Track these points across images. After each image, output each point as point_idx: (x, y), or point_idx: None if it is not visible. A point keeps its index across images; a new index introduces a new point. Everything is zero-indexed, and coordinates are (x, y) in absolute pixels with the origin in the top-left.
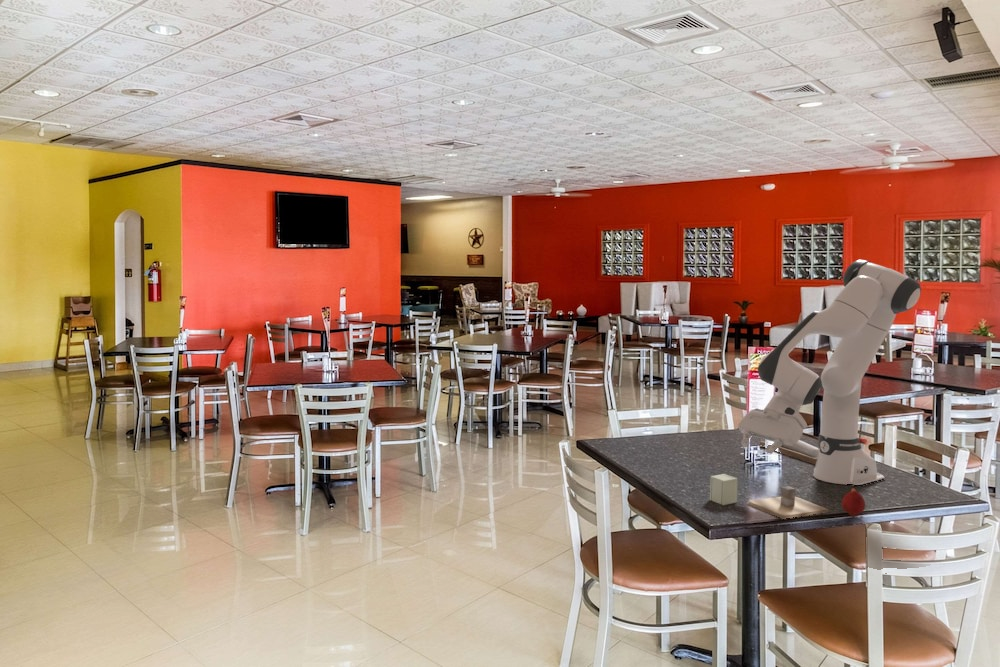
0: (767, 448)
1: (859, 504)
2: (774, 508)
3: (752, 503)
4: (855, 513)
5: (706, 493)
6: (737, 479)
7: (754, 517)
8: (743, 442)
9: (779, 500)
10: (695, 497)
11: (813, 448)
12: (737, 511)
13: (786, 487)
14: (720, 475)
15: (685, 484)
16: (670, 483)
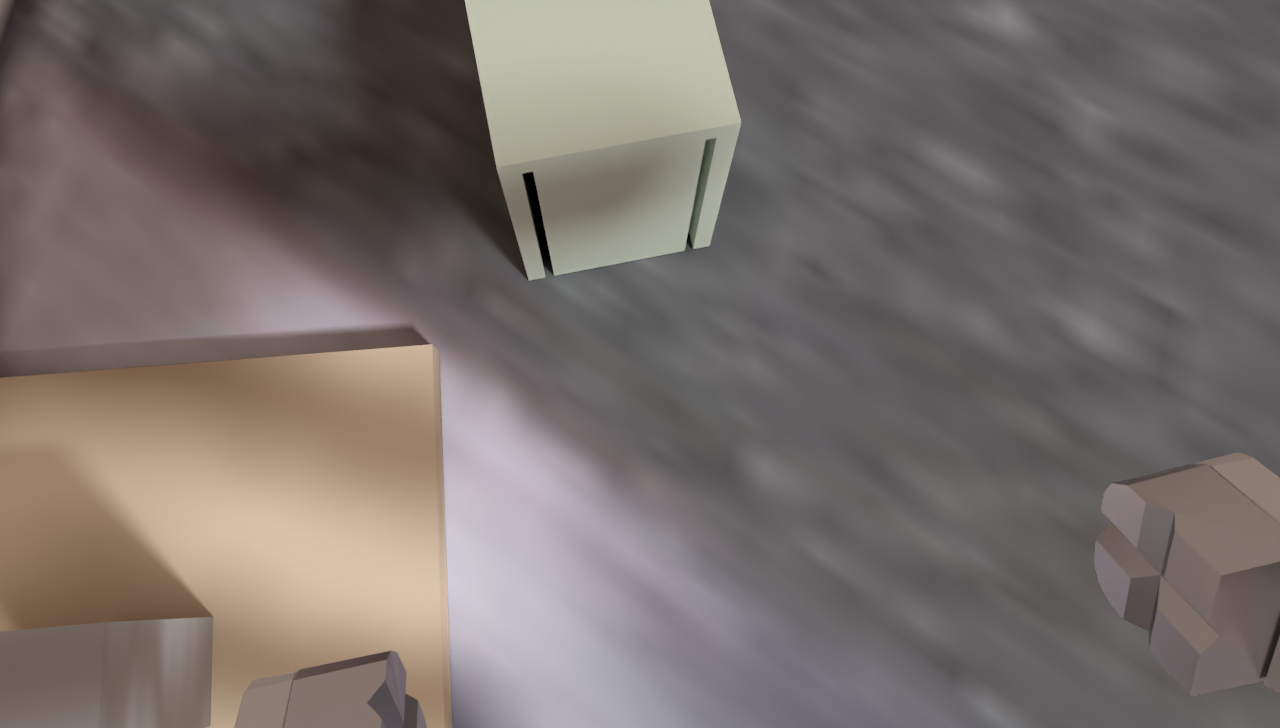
0: (331, 688)
1: None
2: (124, 452)
3: (370, 351)
4: None
5: (865, 165)
6: (499, 174)
7: (102, 183)
8: (1175, 476)
9: None
10: (775, 10)
11: None
12: (300, 137)
13: (60, 687)
14: (682, 41)
15: (1186, 130)
16: (1237, 16)
